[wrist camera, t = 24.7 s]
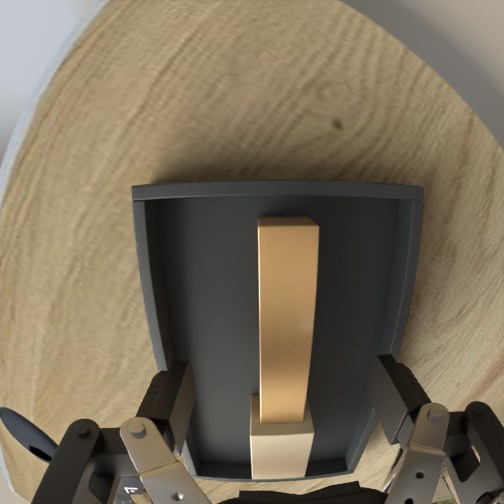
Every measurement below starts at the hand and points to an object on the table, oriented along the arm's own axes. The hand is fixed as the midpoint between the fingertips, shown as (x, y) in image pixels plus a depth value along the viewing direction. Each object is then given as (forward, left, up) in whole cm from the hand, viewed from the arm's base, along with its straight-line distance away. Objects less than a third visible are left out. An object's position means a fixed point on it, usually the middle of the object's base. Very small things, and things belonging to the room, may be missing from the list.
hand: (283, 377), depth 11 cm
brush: (+1, 0, -3) cm, 3 cm away
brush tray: (+2, 0, -3) cm, 4 cm away
